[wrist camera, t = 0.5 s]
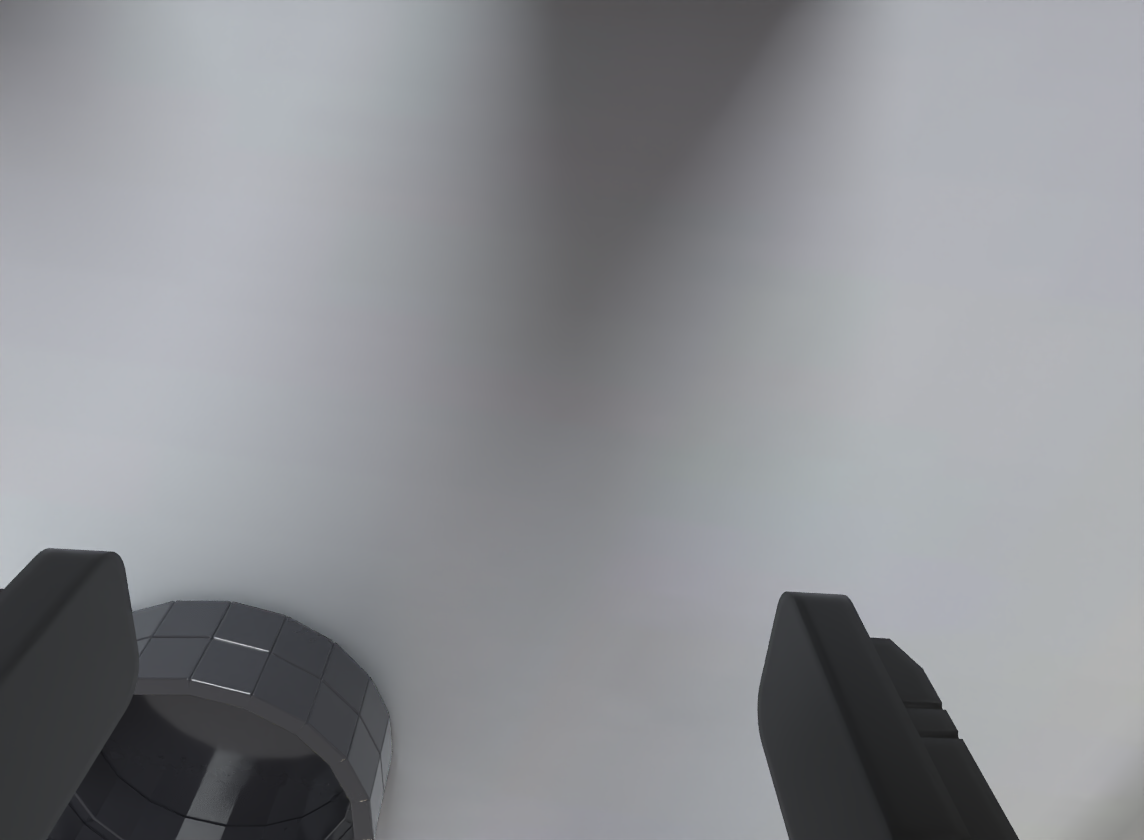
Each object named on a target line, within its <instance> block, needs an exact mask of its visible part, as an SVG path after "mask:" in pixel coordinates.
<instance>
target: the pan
mask: <svg viewBox="0 0 1144 840" xmlns="http://www.w3.org/2000/svg"><path fill="white" fill-rule="evenodd" d="M132 614H133V621H134V627H135V633H136V639H137V645H138V651H139V671H138V678H137V683H136V687H135V690H134V693H133V696H132V699H131V701H130V703H129V706H128V707H127V709H126V711H125V713H124V714H123V716H122V717H121V719H120V721H119V722H118V724H117V726H116V727H115V729H114V730H113V732H112V734H111V735H110V737H109V739H108V740H107V742H106V743H105V745H104V747H103V748H102V750H101V752H100V753H99V755H98V756H97V758H96V760H95V761H94V763H93V764H92V766H91V768H90V769H89V771H88V773H87V774H86V776H85V777H84V779H83V781H82V782H81V784H80V786H79V787H78V789H77V790H76V792H75V794H74V795H73V797H72V799H71V800H70V802H69V803H68V805H67V807H66V808H65V810H64V812H63V813H62V815H61V816H60V818H59V820H58V821H57V823H56V825H55V826H54V828H53V829H52V831H51V833H50V834H49V836H48V838H47V839H46V840H374V837H375V833H376V828H377V823H378V819H379V814H380V809H381V805H382V800H383V795H384V791H385V786H386V781H387V777H388V772H389V767H390V763H391V758H392V752H393V751H392V739H391V727H390V717H389V713H388V711H387V709H386V707H385V705H384V703H383V701H382V699H381V697H380V695H379V693H378V691H377V689H376V687H375V685H374V683H373V681H372V679H371V677H369V675H368V674H367V673H366V672H365V671H364V670H363V669H362V668H361V667H360V666H359V665H358V664H357V663H356V662H355V661H354V660H353V659H352V658H351V657H350V656H349V655H348V654H347V653H346V652H345V651H344V650H343V649H342V648H341V647H340V646H339V645H338V644H337V643H334V642H333V641H332V640H331V639H329V638H327V637H325V636H323V635H321V634H320V633H318V632H316V631H314V630H312V629H310V628H309V627H307V626H305V625H303V624H301V623H300V622H298V621H296V620H294V619H292V618H290V617H286V616H285V615H283V614H279V613H275V612H271V611H267V610H263V609H260V608H256V607H252V606H248V605H244V604H241V603H237V602H232V603H231V602H230V601H176V602H175V601H172V602H168V603H164V604H160V605H157V606H153V607H149V608H145V609H142V610H138V611H134V612H132Z"/></svg>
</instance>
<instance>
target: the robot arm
mask: <svg viewBox="0 0 1144 840" xmlns="http://www.w3.org/2000/svg"><path fill="white" fill-rule="evenodd" d="M138 671H139V651H138V645H137V639H136V633H135V627H134V621H133V614H132V608H131V602H130V596H129V590H128V584H127V578H126V572H125V567H124V563H123V561H122V559H121V557H120V556H119V555H118V554H117V553H115V552H107V551H89V550H72V549H54V548H48V549H45V550H43V551H41V552H40V553H39V554H38V555H36V556H35V557H34V558H33V559H32V561H31V562H30V563H29V564H28V565H27V566H26V567H25V568H24V569H23V570H22V571H21V572H20V573H19V574H18V575H17V576H16V577H15V578H14V579H13V580H12V581H11V582H10V583H9V585H8V586H7V587H6V588H5V589H0V840H46V839H47V838H48V836H49V834H50V833H51V831H52V829H53V828H54V826H55V825H56V823H57V821H58V820H59V818H60V816H61V815H62V813H63V812H64V810H65V808H66V807H67V805H68V803H69V802H70V800H71V799H72V797H73V795H74V794H75V792H76V790H77V789H78V787H79V786H80V784H81V782H82V781H83V779H84V777H85V776H86V774H87V773H88V771H89V769H90V768H91V766H92V764H93V763H94V761H95V760H96V758H97V756H98V755H99V753H100V752H101V750H102V748H103V747H104V745H105V743H106V742H107V740H108V739H109V737H110V735H111V734H112V732H113V730H114V729H115V727H116V726H117V724H118V722H119V721H120V719H121V717H122V716H123V714H124V713H125V711H126V709H127V707H128V706H129V703H130V701H131V699H132V696H133V693H134V690H135V687H136V683H137V678H138ZM758 725H759V733H760V738H761V742H762V746H763V749H764V753H765V756H766V760H767V763H768V767H769V770H770V774H771V777H772V781H773V784H774V788H775V791H776V795H777V798H778V802H779V805H780V809H781V812H782V816H783V819H784V823H785V826H786V830H787V833H788V837H789V840H1019V839H1018V837H1017V835H1016V833H1015V831H1014V830H1013V828H1012V826H1011V824H1010V823H1009V821H1008V819H1007V817H1006V815H1005V814H1004V812H1003V810H1002V808H1001V807H1000V805H999V803H998V801H997V800H996V798H995V796H994V794H993V792H992V791H991V789H990V787H989V785H988V784H987V782H986V780H985V778H984V776H983V775H982V773H981V771H980V769H979V768H978V766H977V764H976V762H975V761H974V759H973V757H972V755H971V753H970V752H969V750H968V748H967V746H966V745H965V743H964V741H963V739H959V738H958V730H957V729H956V727H955V725H954V723H953V722H952V720H951V718H950V716H949V714H948V713H947V711H946V710H942V702H941V700H940V699H939V697H938V695H937V693H936V691H935V690H934V688H933V686H932V684H931V683H930V681H929V679H928V677H927V675H926V674H925V672H924V670H923V669H922V668H921V667H920V666H919V665H918V664H917V663H916V662H915V661H914V660H912V659H911V658H910V657H909V656H908V655H907V654H906V653H905V652H904V651H903V650H901V649H900V648H899V647H898V646H897V645H896V644H895V643H894V642H893V641H892V640H890V639H885V638H870V637H869V635H868V633H867V631H866V629H865V627H864V625H863V623H862V621H861V619H860V617H859V615H858V613H857V611H856V609H855V607H854V605H853V603H852V602H851V600H850V599H849V598H848V597H847V596H846V595H838V594H820V593H802V592H784V593H783V594H782V596H781V597H780V600H779V602H778V606H777V610H776V614H775V619H774V623H773V628H772V632H771V637H770V641H769V646H768V650H767V655H766V659H765V664H764V668H763V673H762V677H761V682H760V686H759V693H758Z"/></svg>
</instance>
